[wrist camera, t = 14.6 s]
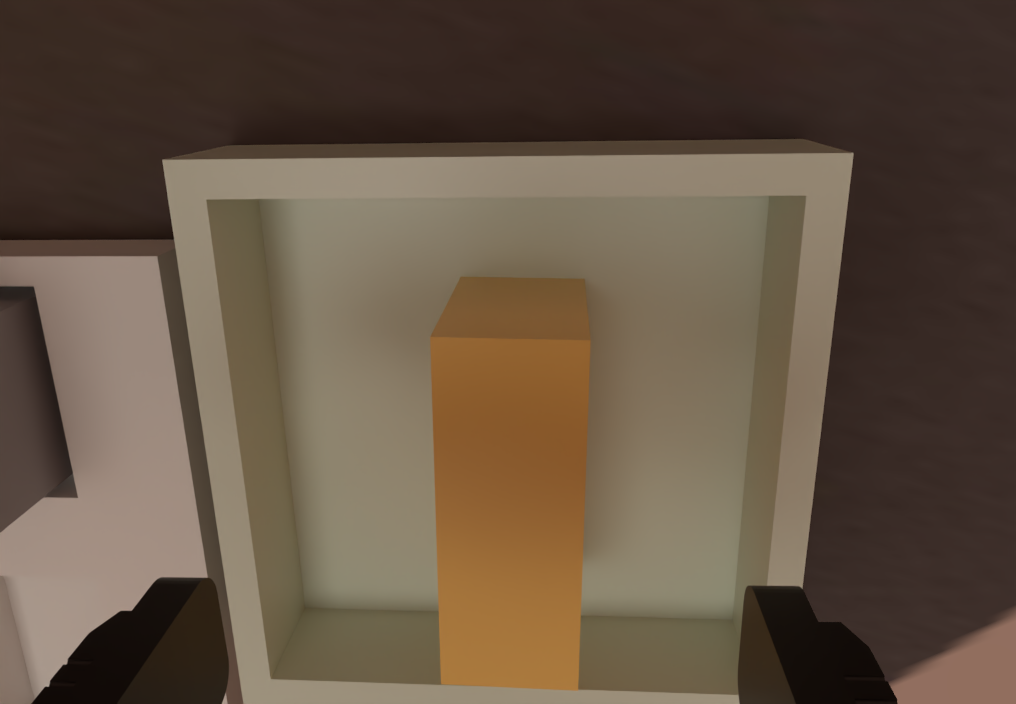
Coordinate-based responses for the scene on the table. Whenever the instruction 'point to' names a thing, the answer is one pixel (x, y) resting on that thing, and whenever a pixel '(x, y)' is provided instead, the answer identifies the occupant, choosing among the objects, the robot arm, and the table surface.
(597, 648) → the parts tray
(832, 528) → the table surface
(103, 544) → the fuse holder
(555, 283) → the block
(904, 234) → the table surface
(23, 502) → the block
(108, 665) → the robot arm
